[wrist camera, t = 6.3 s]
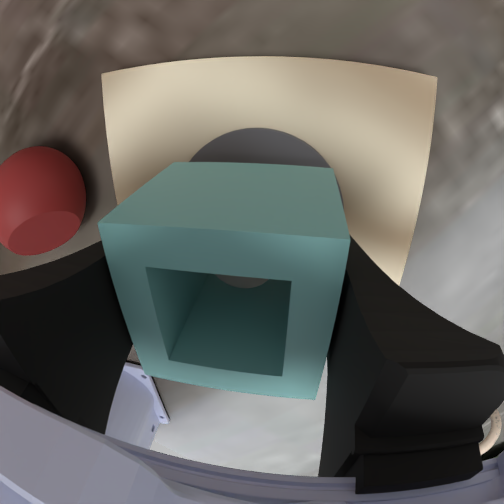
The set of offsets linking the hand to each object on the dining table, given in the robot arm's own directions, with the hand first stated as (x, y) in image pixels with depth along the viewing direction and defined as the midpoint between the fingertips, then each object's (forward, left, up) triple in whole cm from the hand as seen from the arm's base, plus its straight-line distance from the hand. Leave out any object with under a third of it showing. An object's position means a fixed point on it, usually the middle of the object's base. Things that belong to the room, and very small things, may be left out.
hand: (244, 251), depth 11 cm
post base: (0, 0, -5) cm, 5 cm away
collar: (0, 0, -1) cm, 1 cm away
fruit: (+2, +13, -5) cm, 14 cm away
